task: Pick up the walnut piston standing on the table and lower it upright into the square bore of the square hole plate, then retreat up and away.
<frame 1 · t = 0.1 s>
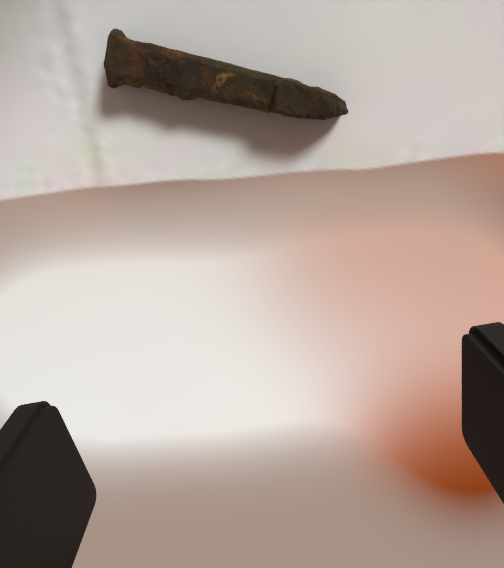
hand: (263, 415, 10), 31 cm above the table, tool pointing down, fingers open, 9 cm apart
hand tool: (233, 78, 36), on the table
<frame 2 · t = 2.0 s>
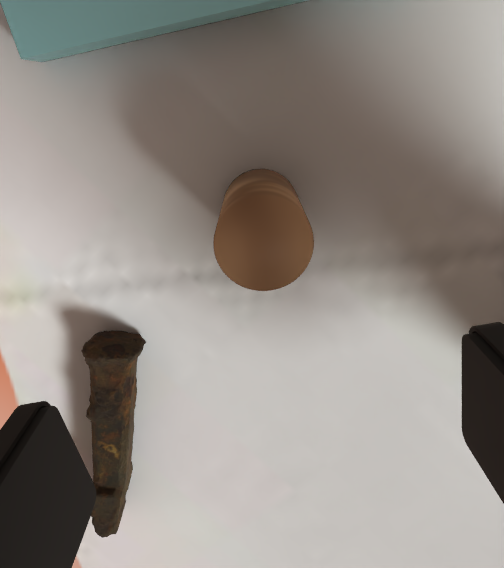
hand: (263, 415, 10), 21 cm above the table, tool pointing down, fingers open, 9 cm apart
walnut piston: (260, 207, 29), on the table
hand tool: (127, 422, 37), on the table
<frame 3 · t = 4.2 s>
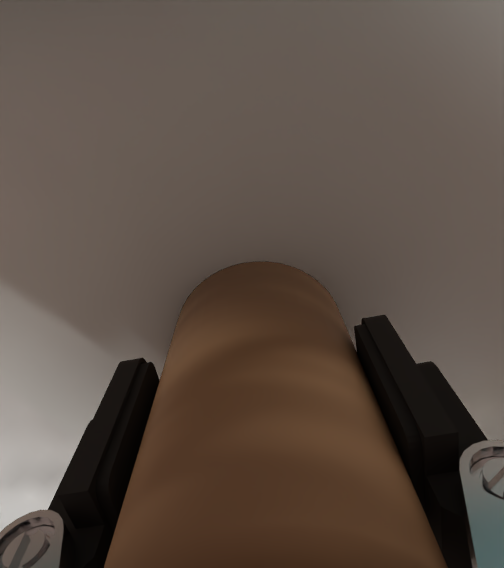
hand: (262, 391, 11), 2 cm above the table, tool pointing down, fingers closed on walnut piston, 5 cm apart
walnut piston: (259, 339, 13), on the table, touching gripper
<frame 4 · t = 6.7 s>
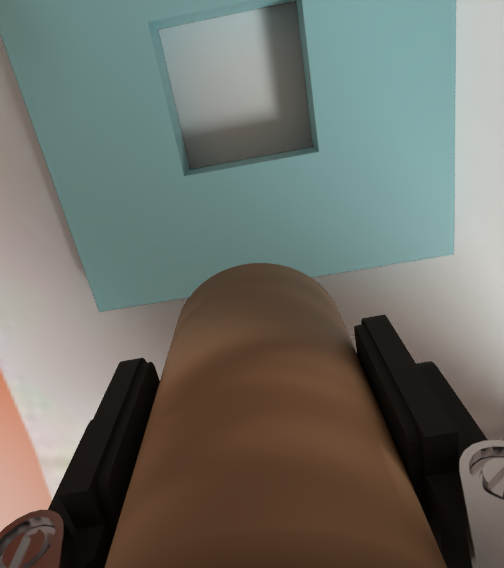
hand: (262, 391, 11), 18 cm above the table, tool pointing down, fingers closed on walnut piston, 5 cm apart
walnut piston: (259, 340, 13), point 16 cm above the table, touching gripper
square hole plate: (239, 91, 25), on the table
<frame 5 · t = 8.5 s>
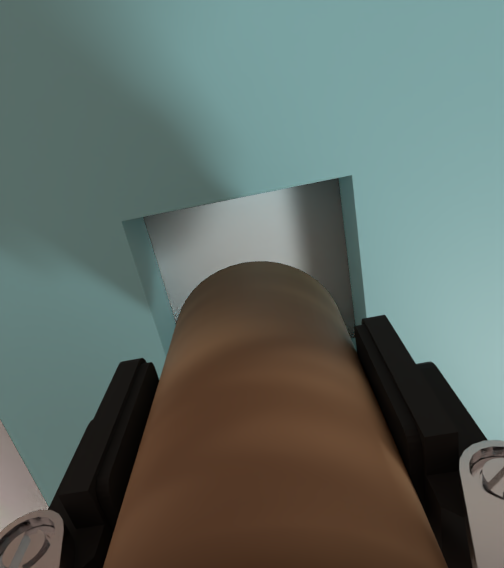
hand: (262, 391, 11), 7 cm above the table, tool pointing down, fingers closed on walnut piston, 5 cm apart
walnut piston: (259, 339, 13), point 5 cm above the table, touching gripper
square hole plate: (255, 274, 18), on the table
when the fingers open (4 cm above the table, at t = 9.6 s): walnut piston drops 1 cm, resting in square hole plate.
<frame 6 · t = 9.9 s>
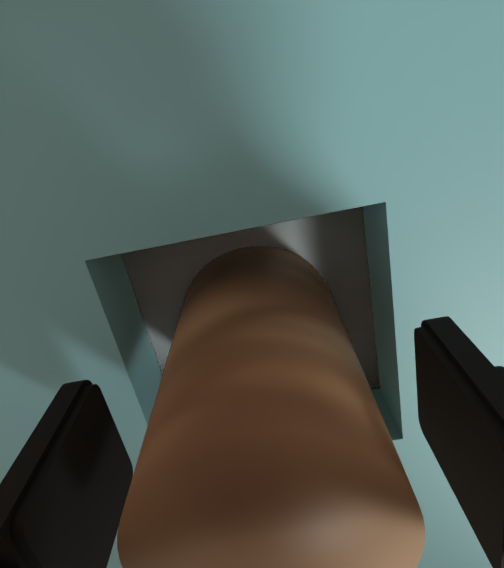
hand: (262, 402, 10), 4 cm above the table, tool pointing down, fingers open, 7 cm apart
walnut piston: (258, 317, 14), resting in square hole plate
square hole plate: (258, 316, 14), on the table
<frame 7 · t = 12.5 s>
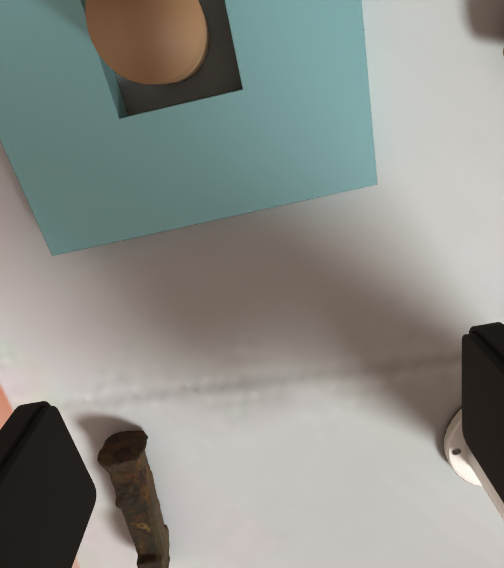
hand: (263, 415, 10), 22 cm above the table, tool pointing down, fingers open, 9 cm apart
walnut piston: (168, 37, 26), resting in square hole plate
square hole plate: (167, 36, 26), on the table
hand tool: (153, 495, 44), on the table
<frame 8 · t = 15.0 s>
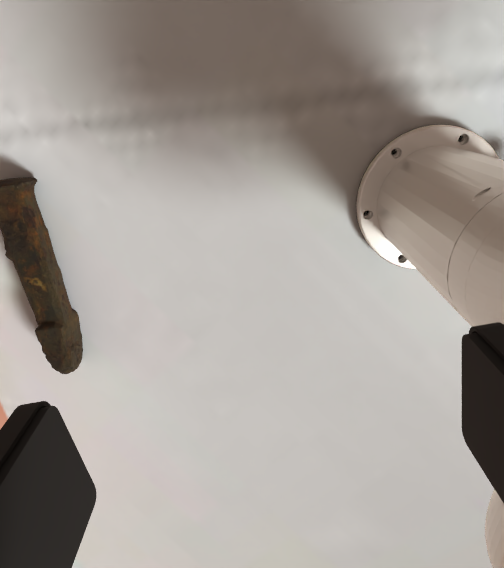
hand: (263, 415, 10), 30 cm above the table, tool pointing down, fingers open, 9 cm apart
hand tool: (59, 272, 42), on the table
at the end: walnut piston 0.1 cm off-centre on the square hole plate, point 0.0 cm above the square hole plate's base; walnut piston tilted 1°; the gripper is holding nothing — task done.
